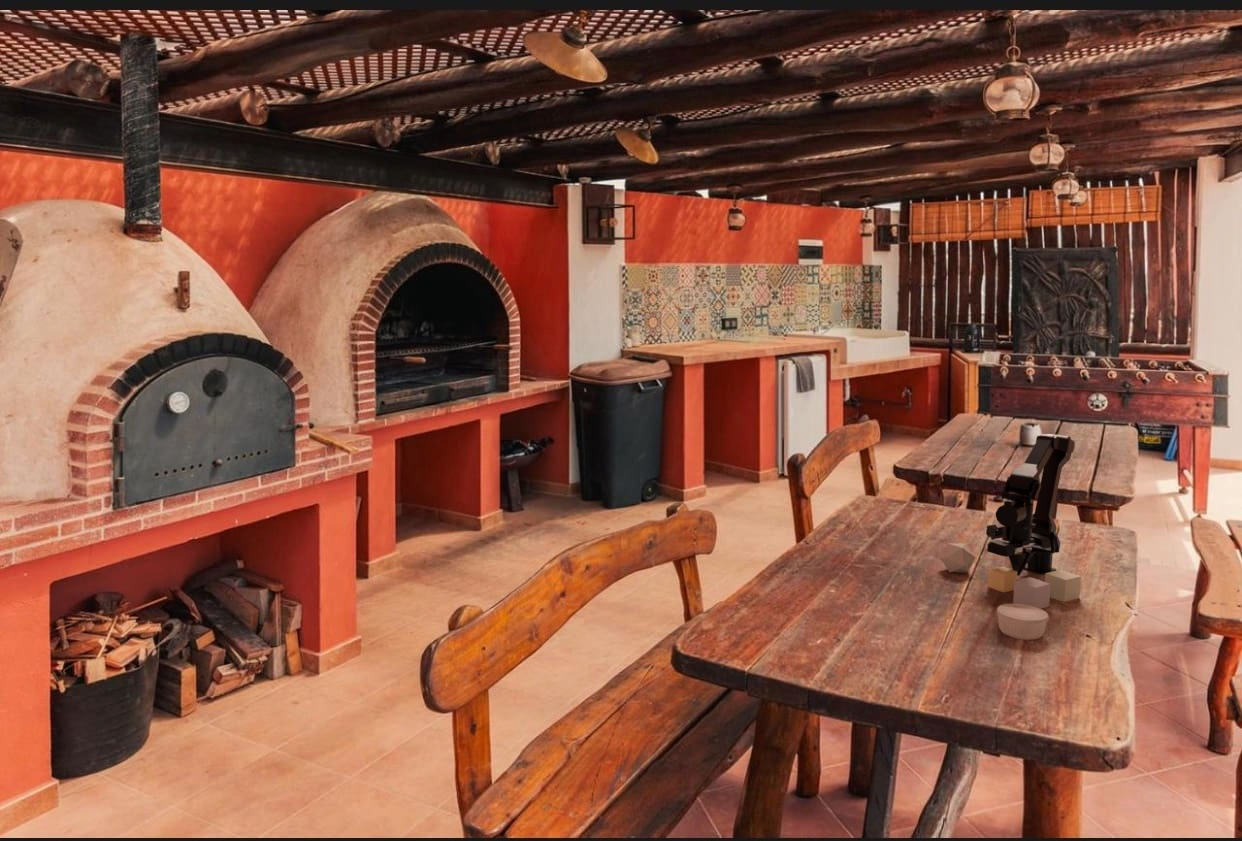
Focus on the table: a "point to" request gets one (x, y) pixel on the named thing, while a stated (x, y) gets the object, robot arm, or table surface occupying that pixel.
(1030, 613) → the ramekin
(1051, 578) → the tan cube
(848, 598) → the table surface
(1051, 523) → the robot arm
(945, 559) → the die
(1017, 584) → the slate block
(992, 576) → the mustard block
